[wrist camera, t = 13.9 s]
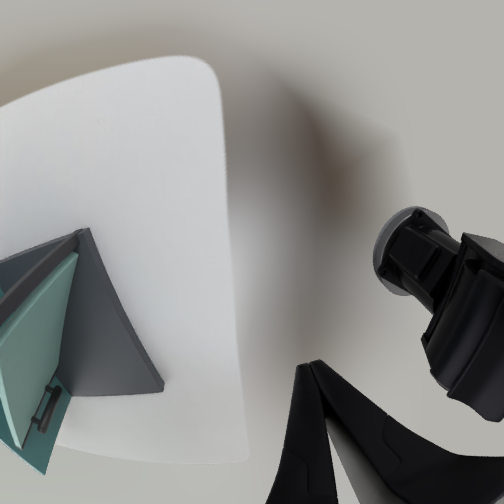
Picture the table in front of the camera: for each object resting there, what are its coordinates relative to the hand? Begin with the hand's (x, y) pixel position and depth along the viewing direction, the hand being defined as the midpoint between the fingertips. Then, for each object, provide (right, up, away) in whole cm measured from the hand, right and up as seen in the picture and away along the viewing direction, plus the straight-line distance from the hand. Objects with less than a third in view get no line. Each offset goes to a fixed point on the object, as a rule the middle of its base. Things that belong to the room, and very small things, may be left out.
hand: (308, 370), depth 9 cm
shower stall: (-19, -3, +13) cm, 23 cm away
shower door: (-18, -2, +12) cm, 22 cm away
